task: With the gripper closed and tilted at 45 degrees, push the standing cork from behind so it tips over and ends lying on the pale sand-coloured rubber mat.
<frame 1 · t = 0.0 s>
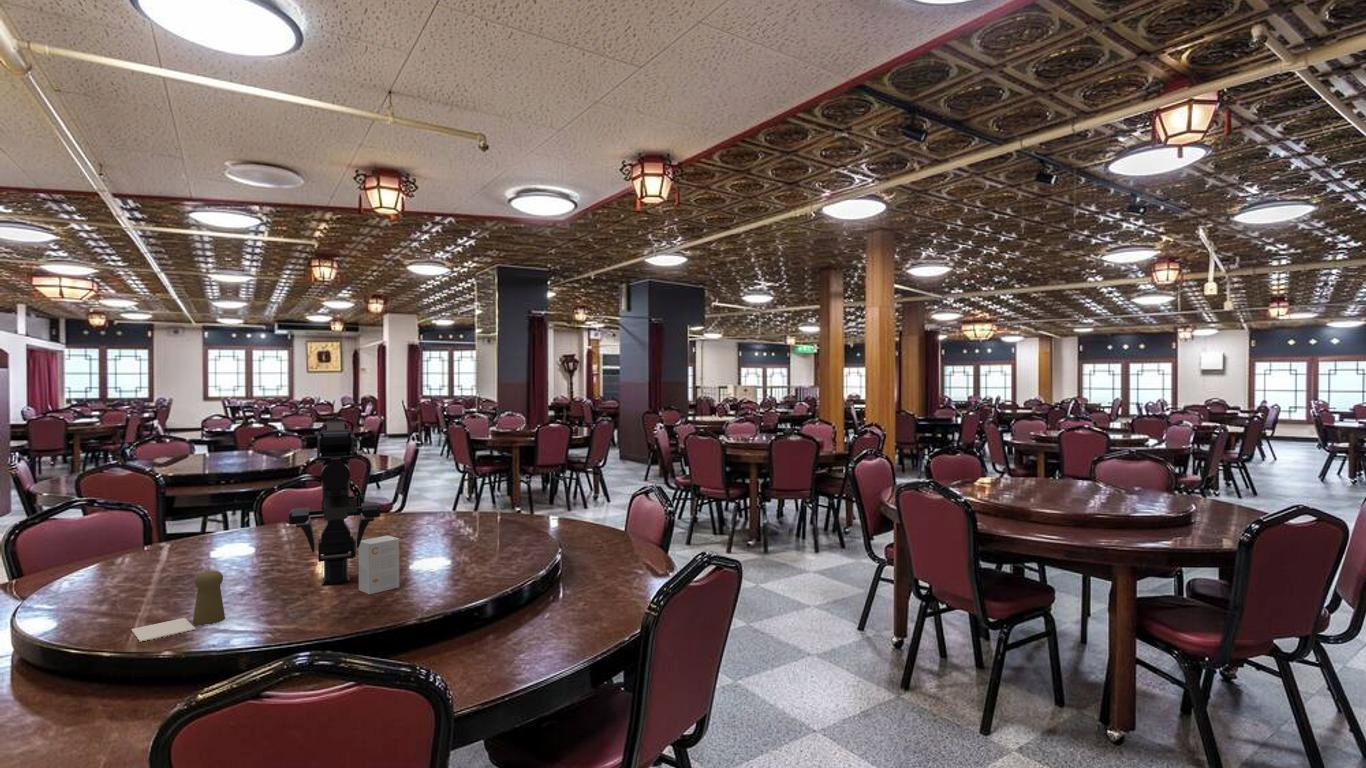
hand: (335, 549, 156), 15 cm above the table, tool pointing down, fingers open, 9 cm apart
cork: (209, 621, 151), on the table
small box: (379, 589, 174), on the table
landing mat: (163, 630, 145), on the table
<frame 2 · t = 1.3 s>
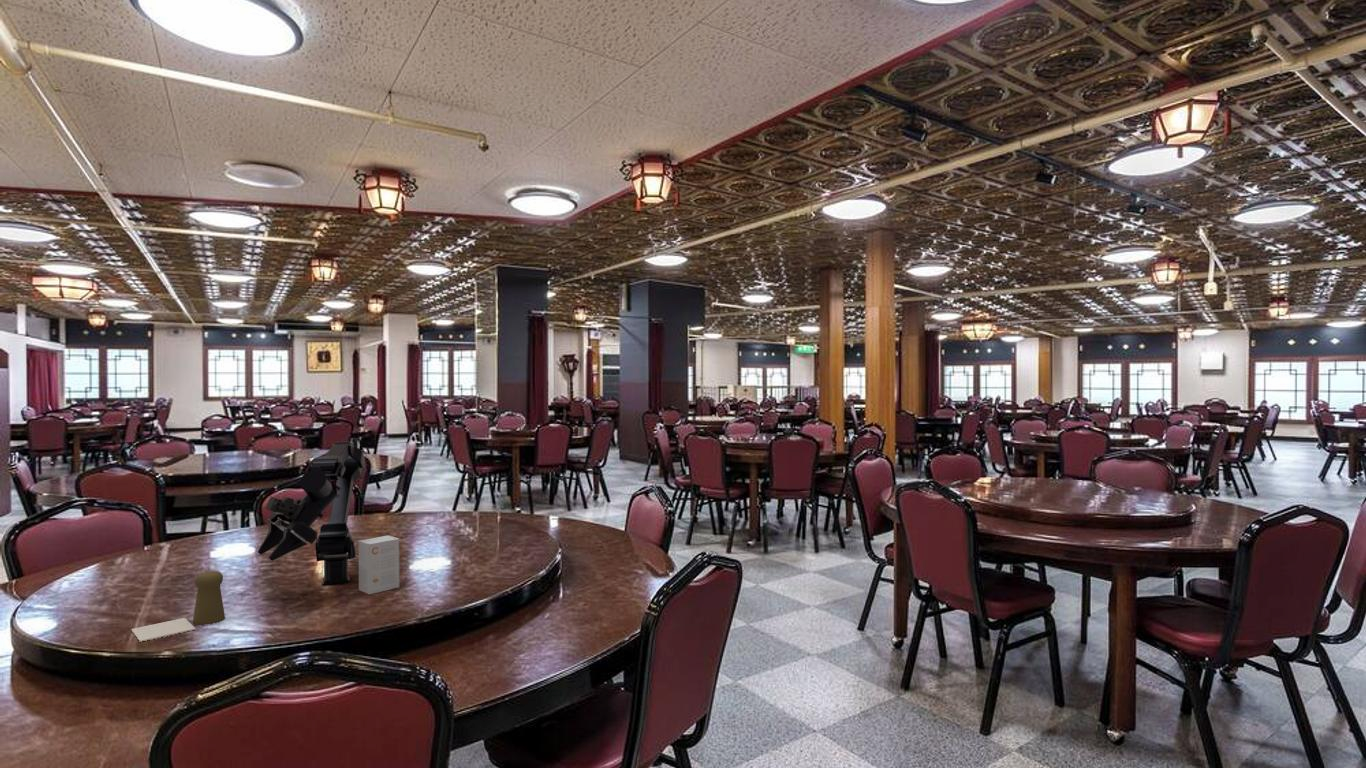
hand: (264, 556, 159), 12 cm above the table, tool tilted 45°, fingers open, 8 cm apart
nothing on the table moved.
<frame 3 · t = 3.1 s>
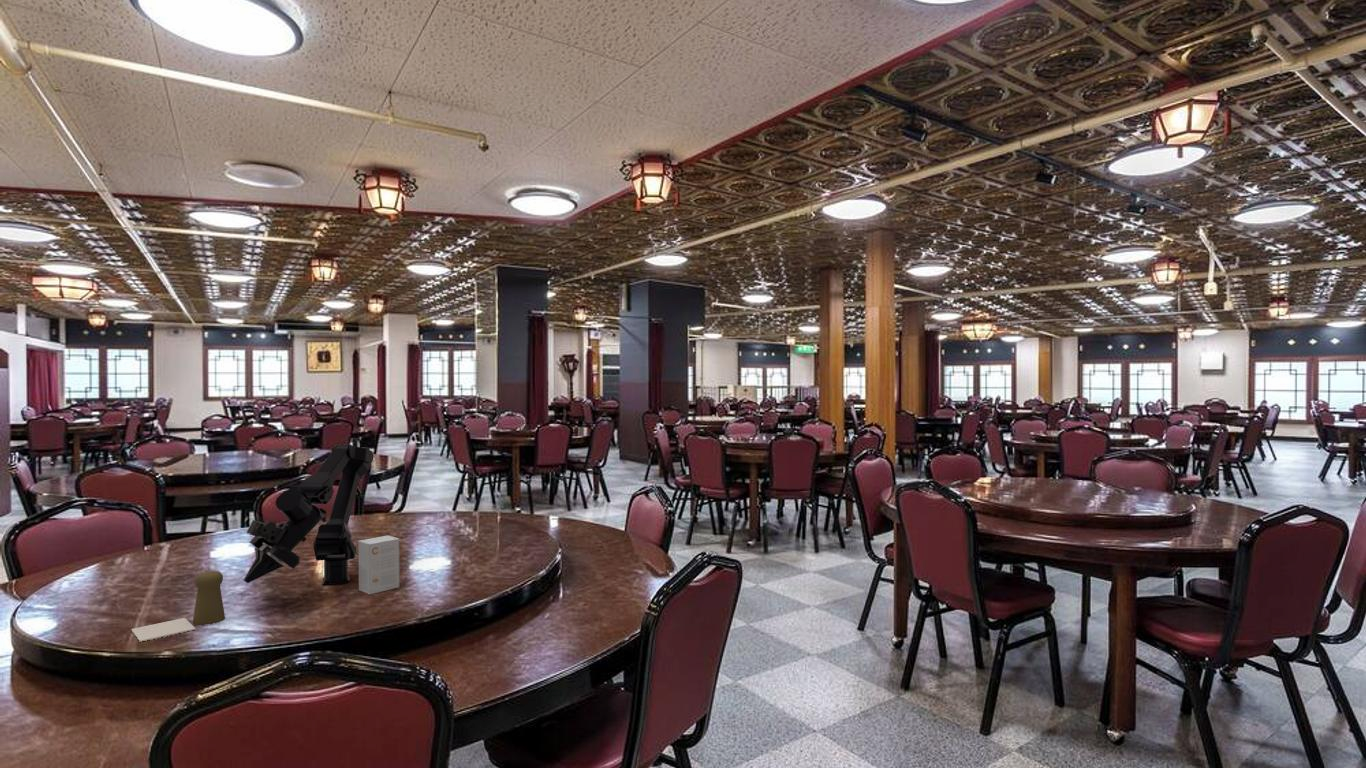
hand: (245, 581, 156), 7 cm above the table, tool tilted 45°, fingers closed
nothing on the table moved.
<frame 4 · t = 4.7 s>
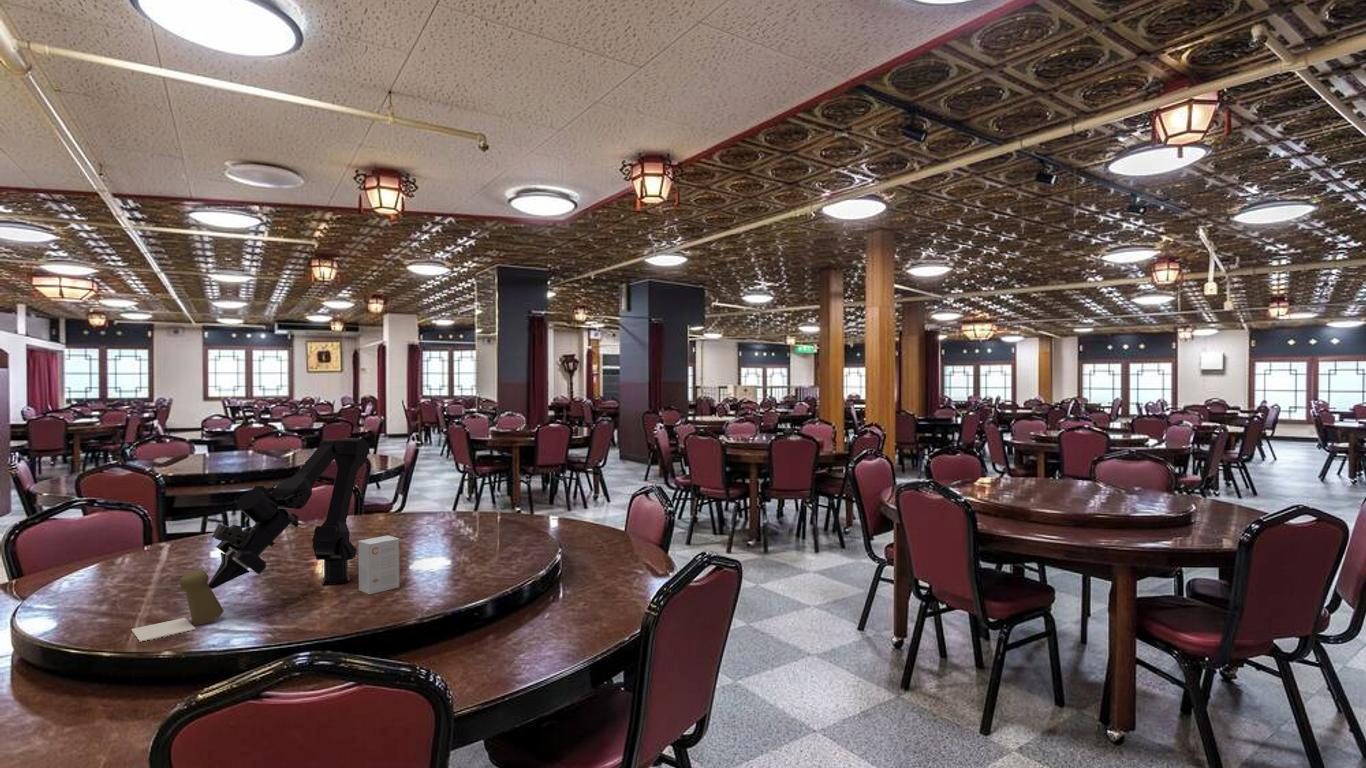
hand: (209, 587, 151), 7 cm above the table, tool tilted 45°, fingers closed
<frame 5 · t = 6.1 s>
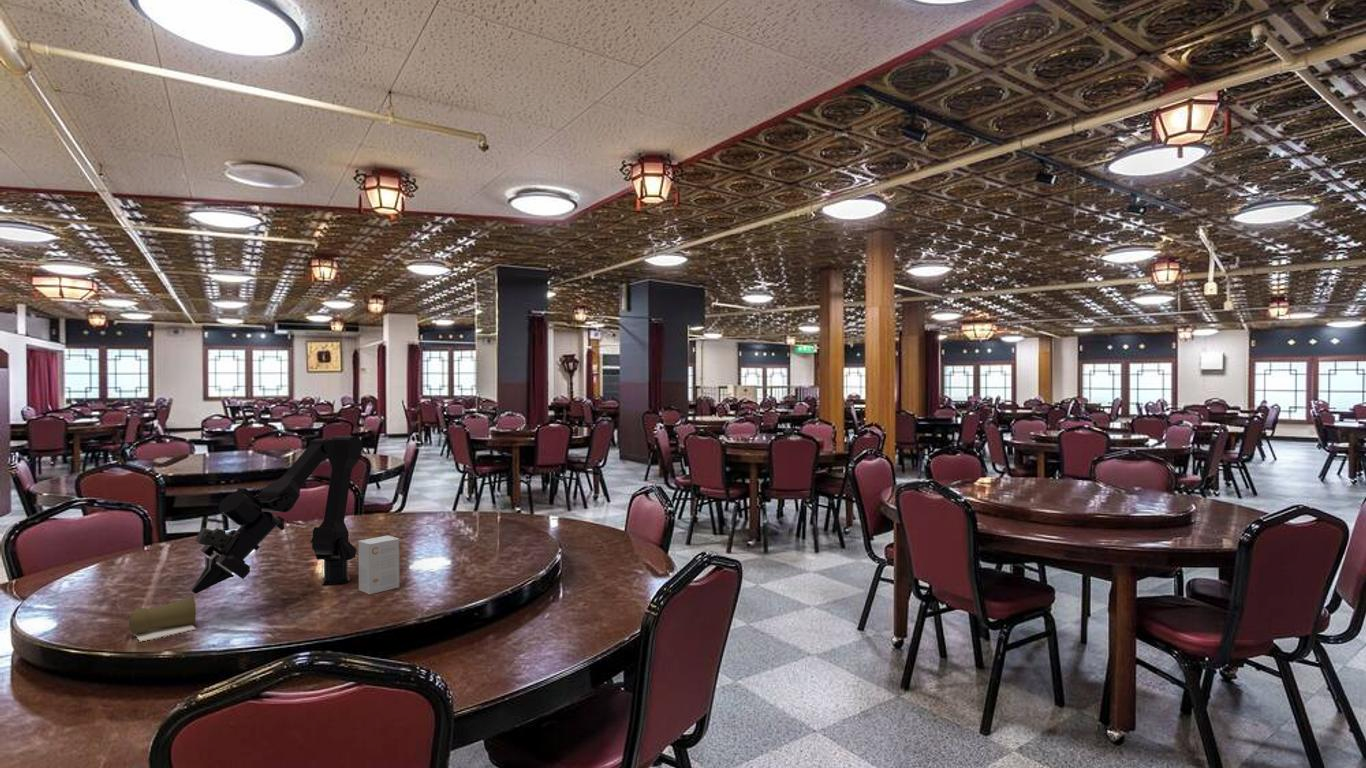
hand: (193, 592, 149), 7 cm above the table, tool tilted 45°, fingers closed
cork: (194, 610, 149), point 3 cm above the table, touching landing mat
everything else where it was.
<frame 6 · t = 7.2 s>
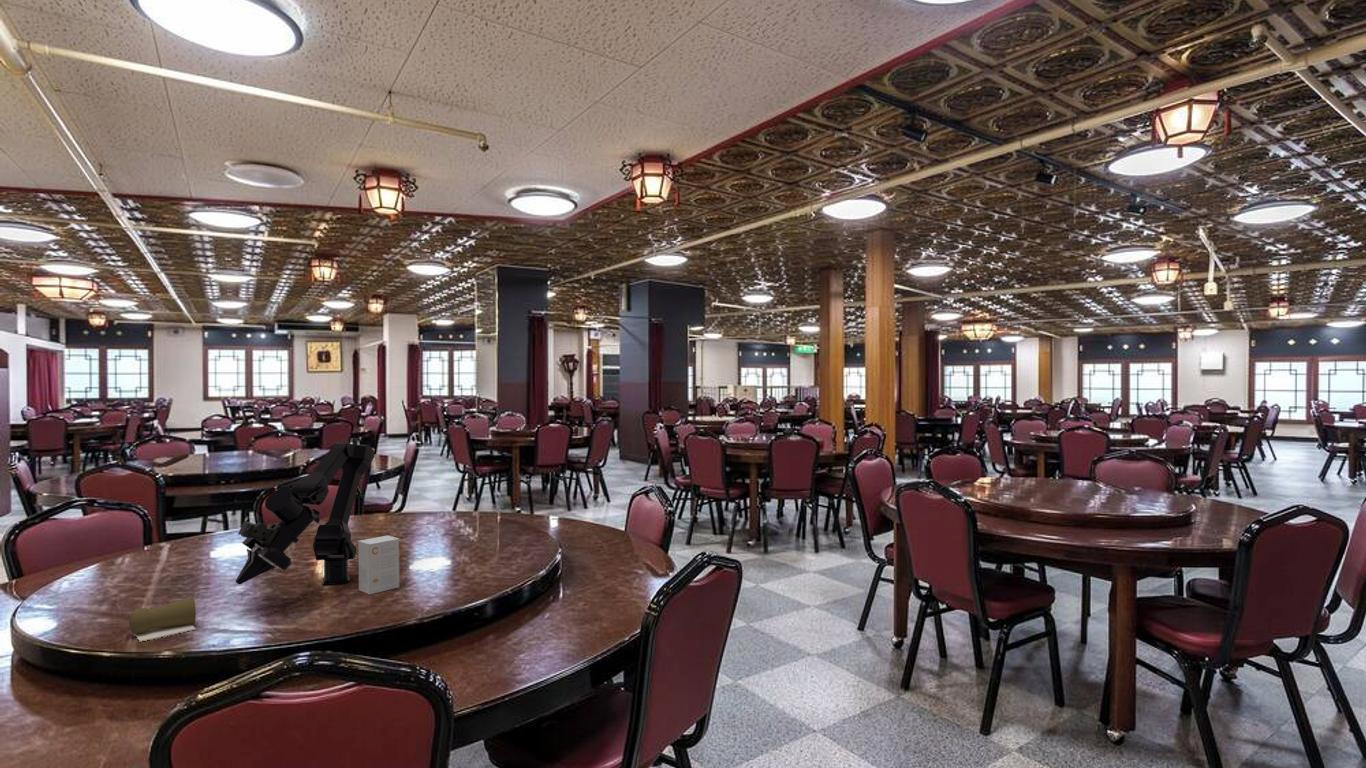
hand: (237, 583, 155), 7 cm above the table, tool tilted 45°, fingers closed
nothing on the table moved.
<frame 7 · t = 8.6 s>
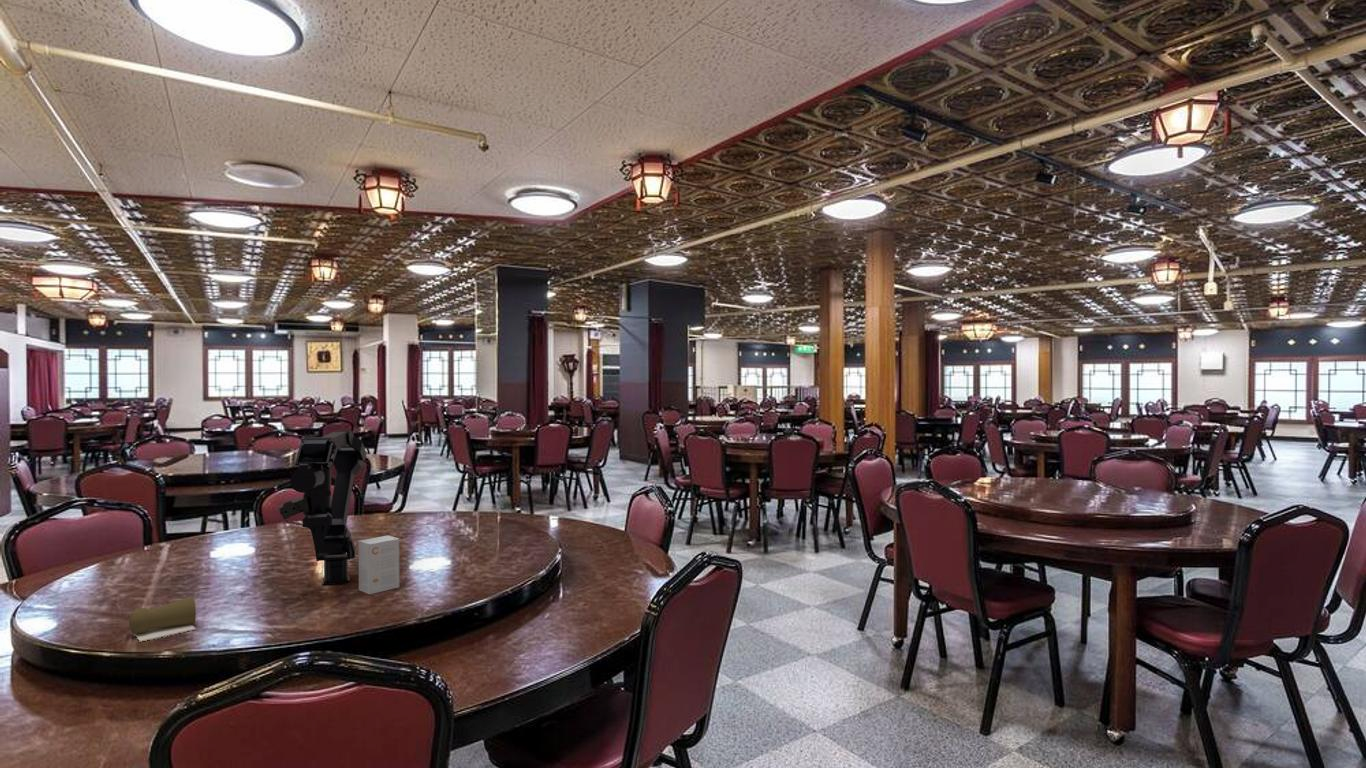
hand: (317, 549, 168), 12 cm above the table, tool pointing down, fingers closed
nothing on the table moved.
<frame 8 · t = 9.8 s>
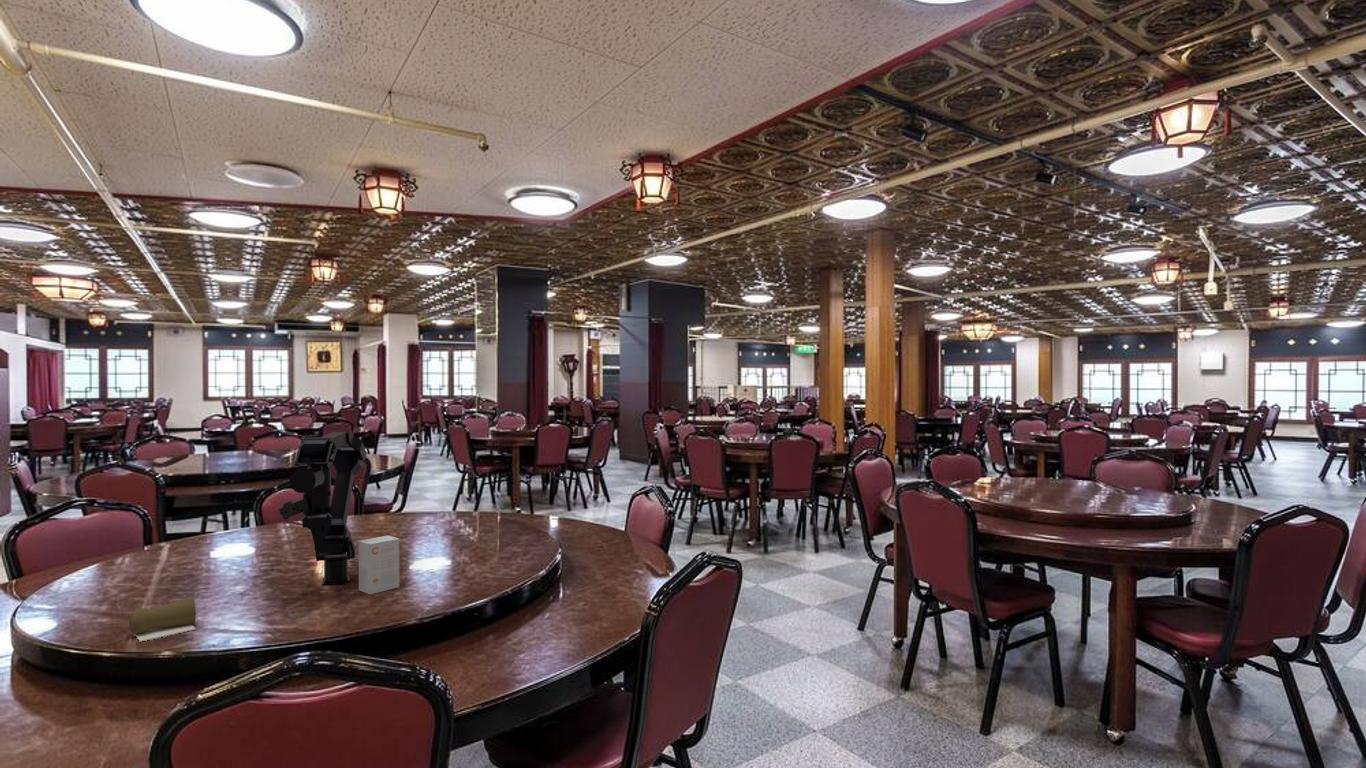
hand: (317, 549, 168), 12 cm above the table, tool pointing down, fingers closed
nothing on the table moved.
at the end: cork tilted 90°; cork touching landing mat, table; cork inside the target area (1.2 cm from its centre), point 3.0 cm above the table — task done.
